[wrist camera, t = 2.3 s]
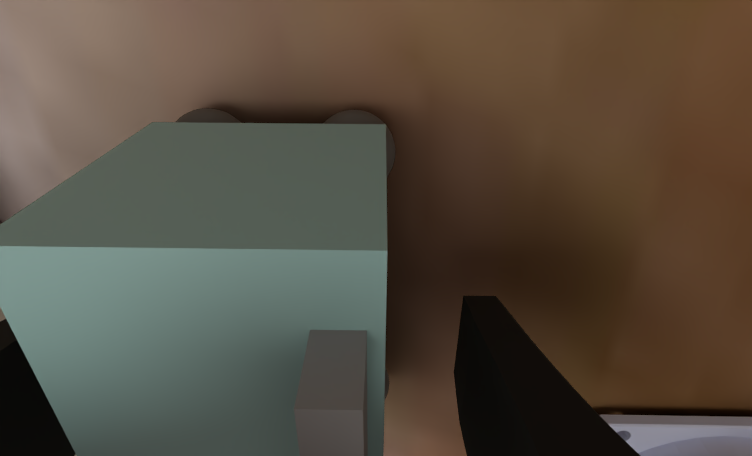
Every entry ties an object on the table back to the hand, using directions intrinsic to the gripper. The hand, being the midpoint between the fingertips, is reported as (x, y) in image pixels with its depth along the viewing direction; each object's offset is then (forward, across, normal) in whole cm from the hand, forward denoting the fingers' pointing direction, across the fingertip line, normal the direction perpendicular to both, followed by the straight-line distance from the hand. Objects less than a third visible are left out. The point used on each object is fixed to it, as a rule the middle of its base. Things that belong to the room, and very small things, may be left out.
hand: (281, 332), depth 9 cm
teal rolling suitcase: (+2, 0, 0) cm, 2 cm away
